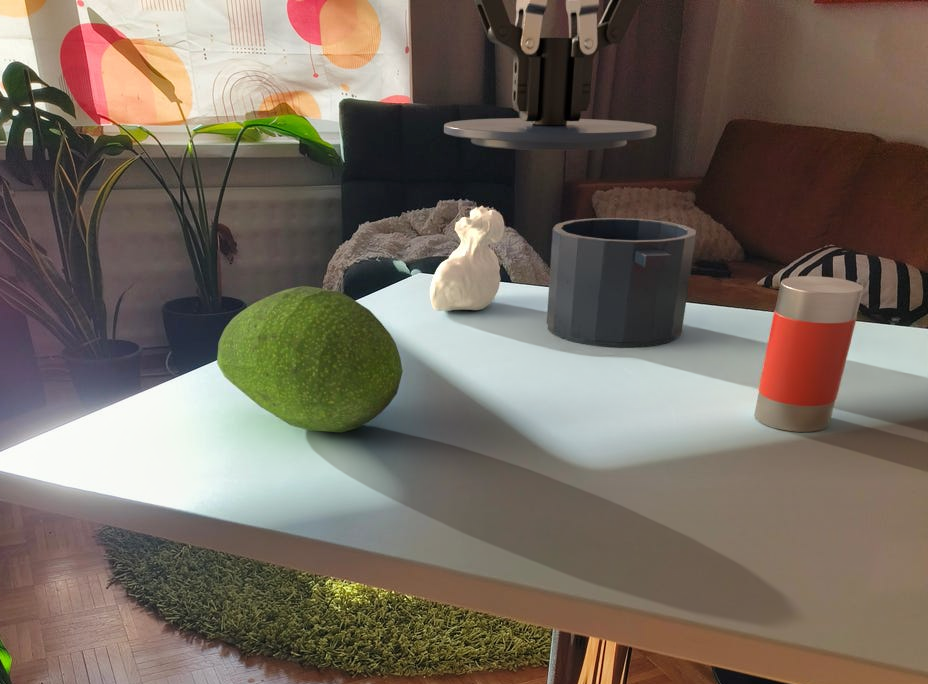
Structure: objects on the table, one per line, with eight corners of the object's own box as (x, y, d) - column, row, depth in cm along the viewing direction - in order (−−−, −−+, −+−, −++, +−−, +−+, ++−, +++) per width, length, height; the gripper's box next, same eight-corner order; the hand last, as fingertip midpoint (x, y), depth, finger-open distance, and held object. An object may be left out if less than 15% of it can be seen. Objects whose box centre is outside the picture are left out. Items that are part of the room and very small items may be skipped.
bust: (445, 341, 95) (507, 258, 88) (395, 289, 95) (453, 201, 88) (491, 316, 104) (552, 239, 97) (446, 269, 104) (503, 188, 97)
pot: (644, 304, 100) (655, 212, 95) (714, 351, 85) (732, 245, 80) (526, 309, 98) (531, 215, 93) (576, 358, 83) (585, 249, 78)
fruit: (194, 420, 69) (172, 283, 63) (287, 387, 75) (275, 261, 70) (339, 466, 61) (329, 316, 55) (428, 426, 68) (427, 287, 62)
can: (806, 405, 72) (837, 274, 67) (844, 430, 67) (880, 291, 62) (740, 409, 71) (766, 277, 66) (774, 434, 67) (804, 294, 61)
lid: (614, 133, 69) (623, 39, 66) (688, 151, 57) (703, 37, 54) (429, 135, 67) (428, 37, 64) (465, 154, 55) (466, 35, 52)
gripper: (464, -247, 48) (460, 125, 57) (709, -234, 50) (665, 123, 59) (441, -213, 54) (441, 118, 63) (659, -203, 56) (628, 116, 65)
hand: (550, 119), depth 61 cm, fingers closed on lid, 2 cm apart
